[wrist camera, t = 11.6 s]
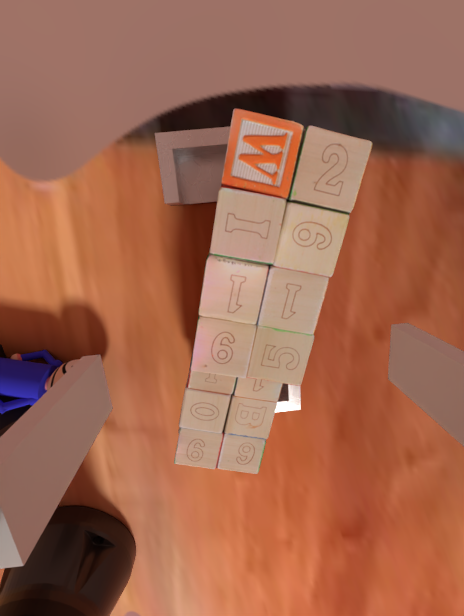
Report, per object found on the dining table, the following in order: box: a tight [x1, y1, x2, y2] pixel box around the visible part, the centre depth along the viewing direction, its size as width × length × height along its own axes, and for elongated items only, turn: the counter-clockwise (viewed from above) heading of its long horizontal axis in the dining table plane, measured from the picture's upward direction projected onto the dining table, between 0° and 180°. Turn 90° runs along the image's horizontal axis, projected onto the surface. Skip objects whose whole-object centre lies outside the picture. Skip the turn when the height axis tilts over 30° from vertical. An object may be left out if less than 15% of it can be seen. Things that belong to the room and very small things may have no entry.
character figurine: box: [0, 344, 80, 430], centre depth 28 cm, size 8×7×15 cm
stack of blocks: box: [174, 108, 372, 474], centre depth 21 cm, size 21×6×12 cm, turn 168°
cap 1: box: [155, 121, 294, 206], centre depth 25 cm, size 11×5×4 cm, turn 95°
